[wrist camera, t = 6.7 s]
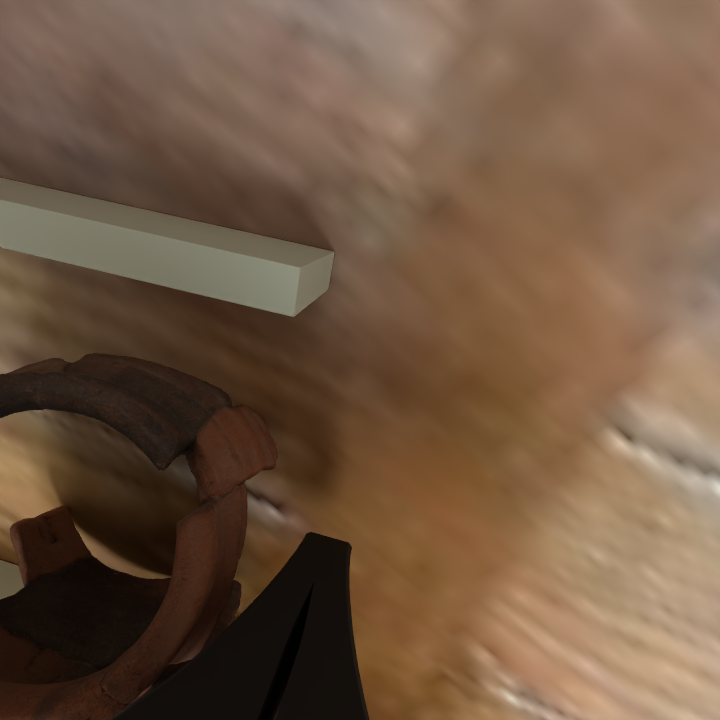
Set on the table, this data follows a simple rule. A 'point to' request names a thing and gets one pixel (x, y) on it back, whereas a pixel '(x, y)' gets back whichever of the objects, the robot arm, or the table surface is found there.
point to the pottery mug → (113, 588)
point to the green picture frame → (158, 258)
